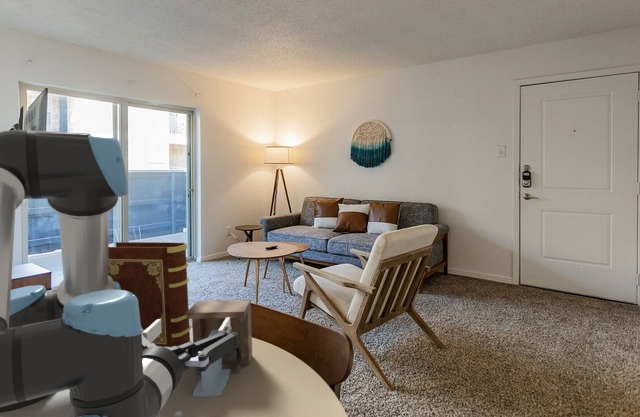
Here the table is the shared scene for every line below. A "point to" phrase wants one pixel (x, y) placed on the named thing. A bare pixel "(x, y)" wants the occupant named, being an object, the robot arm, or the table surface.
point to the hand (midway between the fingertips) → (194, 324)
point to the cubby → (213, 316)
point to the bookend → (212, 378)
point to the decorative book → (155, 285)
